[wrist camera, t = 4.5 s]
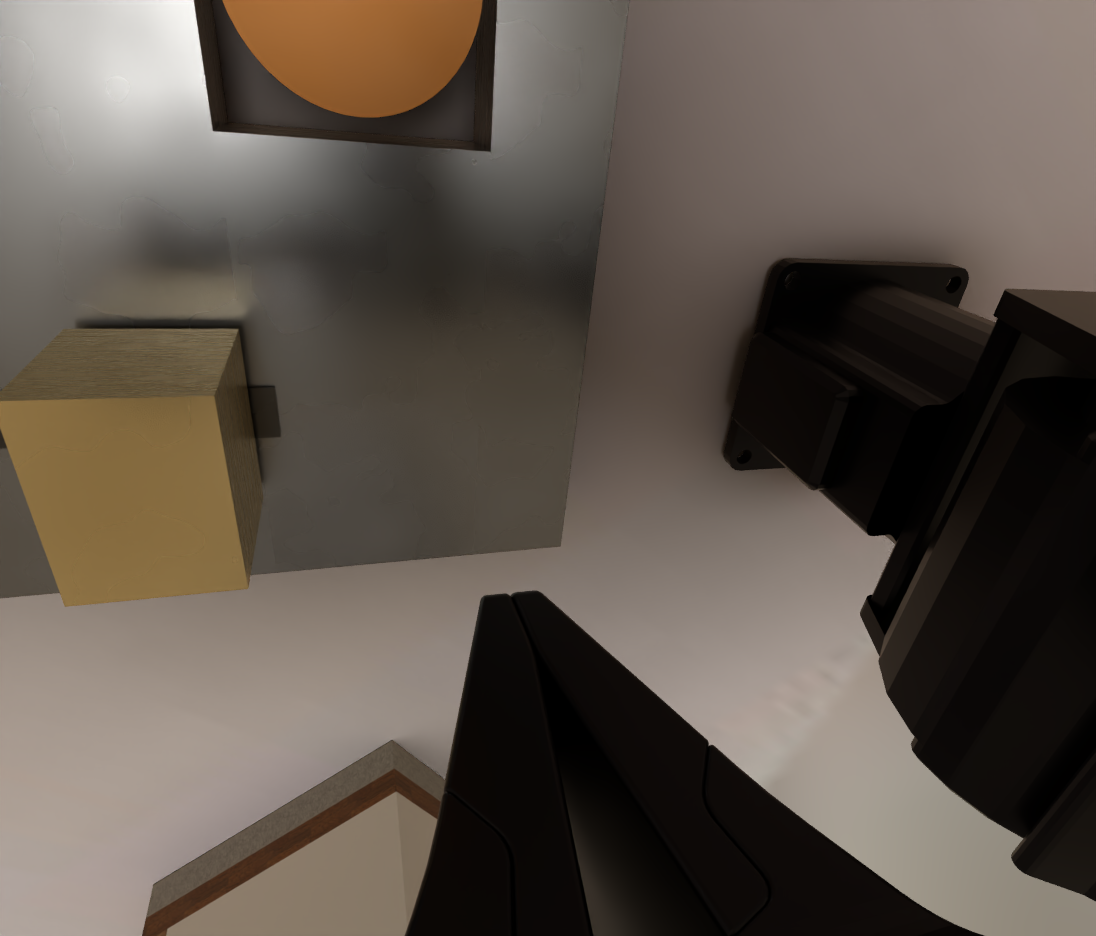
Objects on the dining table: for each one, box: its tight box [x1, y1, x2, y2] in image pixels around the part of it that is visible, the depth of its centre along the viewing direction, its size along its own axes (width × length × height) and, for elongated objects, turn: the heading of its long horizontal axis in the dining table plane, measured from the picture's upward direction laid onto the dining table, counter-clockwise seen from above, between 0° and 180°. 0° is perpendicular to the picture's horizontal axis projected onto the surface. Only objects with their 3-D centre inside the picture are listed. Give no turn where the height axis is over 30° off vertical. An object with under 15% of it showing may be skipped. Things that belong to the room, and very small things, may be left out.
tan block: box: [0, 329, 263, 607], centre depth 12 cm, size 3×4×3 cm
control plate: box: [0, 0, 629, 598], centre depth 12 cm, size 22×17×2 cm
